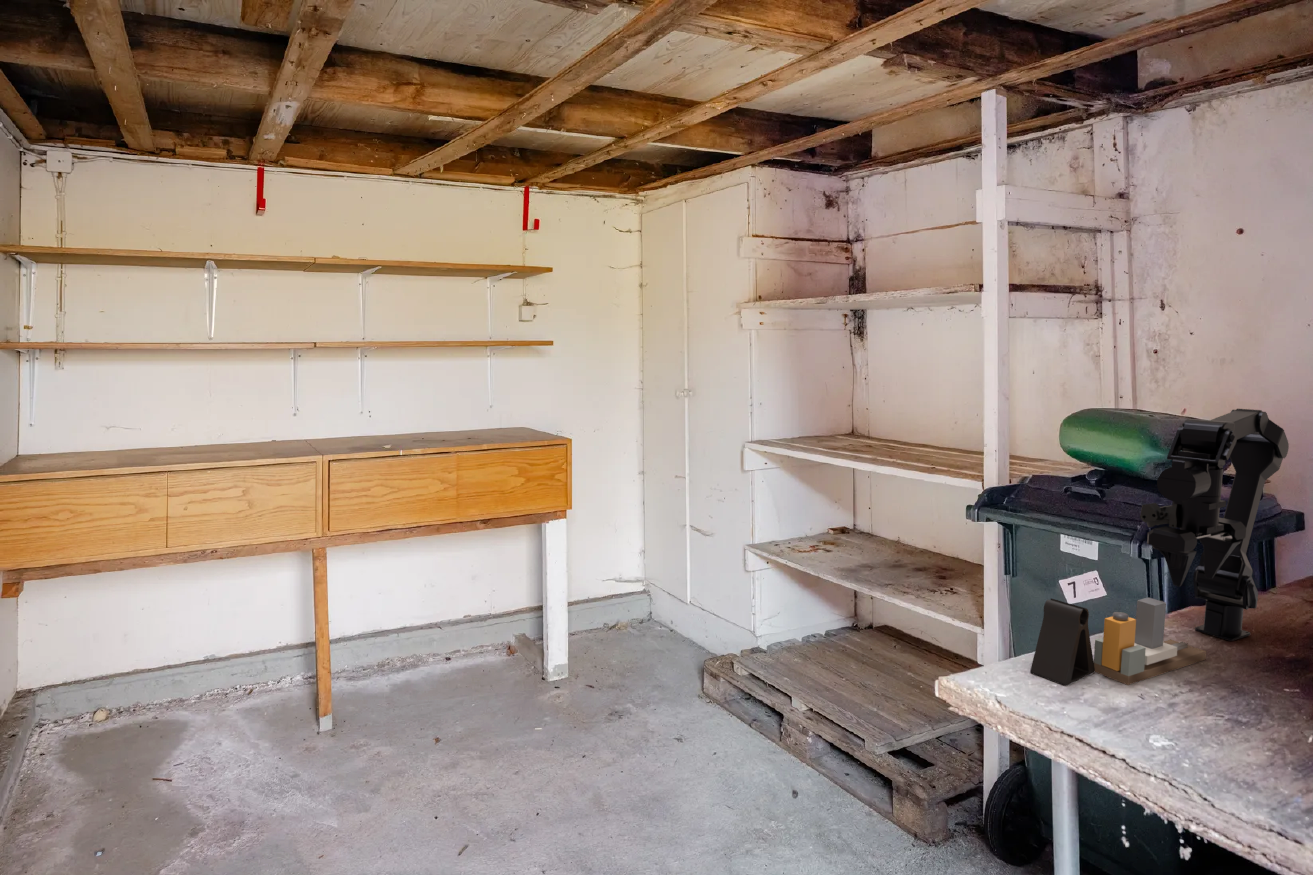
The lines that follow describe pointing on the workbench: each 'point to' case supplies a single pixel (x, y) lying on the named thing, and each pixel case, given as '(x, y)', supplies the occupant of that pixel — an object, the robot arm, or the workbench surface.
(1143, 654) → the end housing
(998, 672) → the workbench surface
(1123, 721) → the workbench surface
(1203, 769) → the workbench surface
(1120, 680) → the rail bed
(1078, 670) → the phone stand
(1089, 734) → the workbench surface
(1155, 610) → the carriage
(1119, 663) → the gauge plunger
